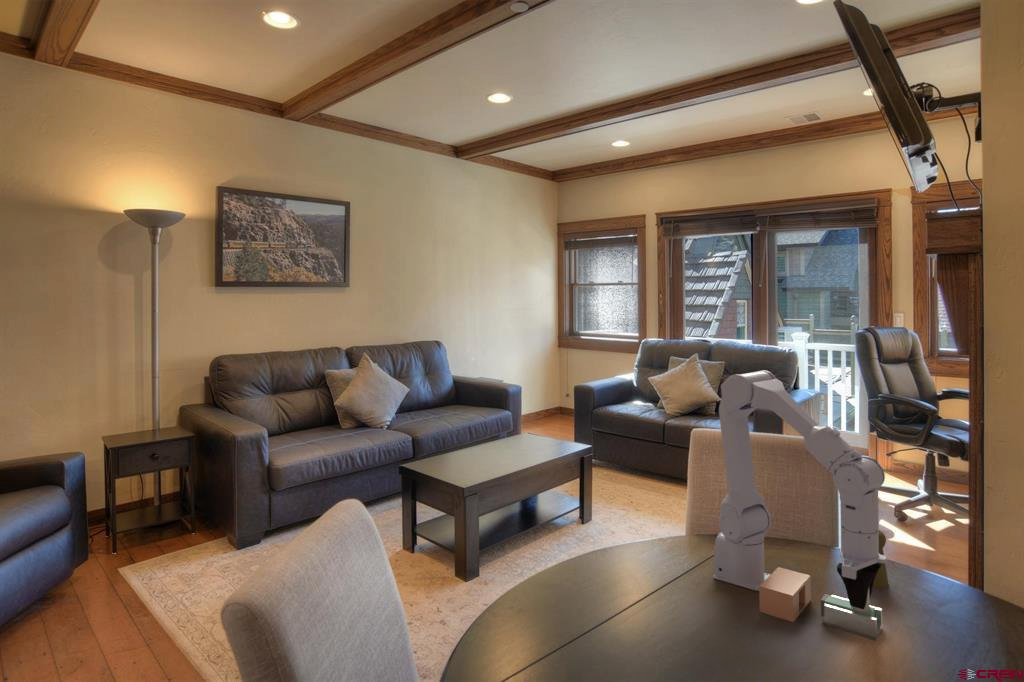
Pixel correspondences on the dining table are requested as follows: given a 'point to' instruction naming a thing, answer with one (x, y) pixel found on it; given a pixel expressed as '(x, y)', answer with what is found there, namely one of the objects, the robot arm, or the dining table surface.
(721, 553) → the robot arm
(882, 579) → the cork
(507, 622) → the dining table surface
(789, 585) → the socket block
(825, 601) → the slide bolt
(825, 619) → the grey u-channel
